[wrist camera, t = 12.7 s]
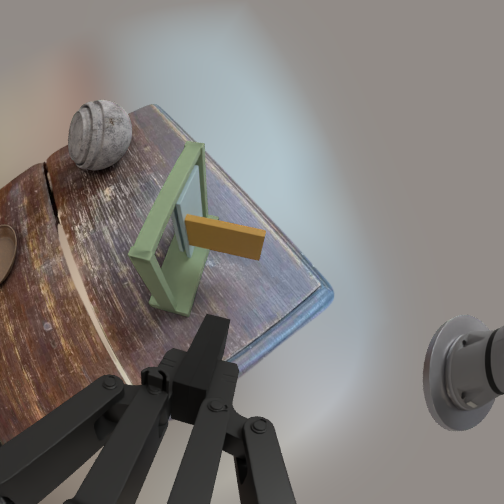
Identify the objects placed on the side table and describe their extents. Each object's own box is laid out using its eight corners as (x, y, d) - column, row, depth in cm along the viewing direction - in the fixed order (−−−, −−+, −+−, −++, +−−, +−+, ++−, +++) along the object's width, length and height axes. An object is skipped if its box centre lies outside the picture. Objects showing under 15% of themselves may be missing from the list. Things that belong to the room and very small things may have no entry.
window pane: (264, 236, 44) (276, 180, 33) (256, 273, 41) (268, 222, 30) (199, 222, 45) (194, 164, 34) (187, 257, 41) (175, 203, 30)
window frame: (218, 222, 47) (218, 145, 33) (188, 317, 39) (167, 265, 24) (185, 215, 47) (174, 139, 33) (150, 306, 39) (111, 250, 24)
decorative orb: (71, 161, 52) (50, 111, 39) (122, 132, 58) (110, 80, 45) (90, 195, 48) (63, 138, 35) (149, 159, 54) (136, 99, 41)
